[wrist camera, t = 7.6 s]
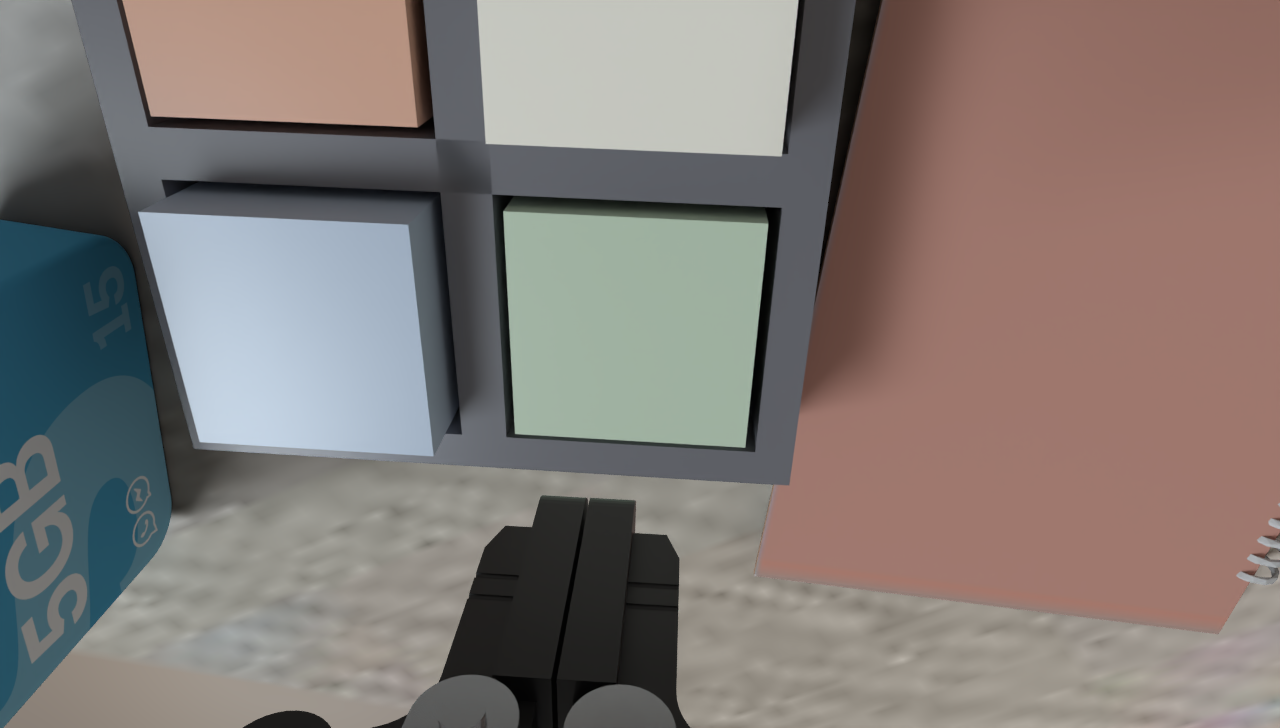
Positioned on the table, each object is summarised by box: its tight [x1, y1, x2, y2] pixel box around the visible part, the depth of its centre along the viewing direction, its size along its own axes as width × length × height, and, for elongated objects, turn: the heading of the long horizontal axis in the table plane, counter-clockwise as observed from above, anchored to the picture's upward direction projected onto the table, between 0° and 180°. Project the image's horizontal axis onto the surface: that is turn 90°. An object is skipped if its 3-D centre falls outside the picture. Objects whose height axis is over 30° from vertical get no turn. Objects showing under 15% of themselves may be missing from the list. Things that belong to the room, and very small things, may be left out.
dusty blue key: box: [138, 181, 459, 456], centre depth 21 cm, size 6×6×4 cm
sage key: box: [503, 196, 768, 448], centre depth 21 cm, size 6×6×4 cm
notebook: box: [754, 0, 1280, 634], centre depth 22 cm, size 27×17×2 cm, turn 174°
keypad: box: [71, 0, 856, 486], centre depth 20 cm, size 16×16×4 cm
